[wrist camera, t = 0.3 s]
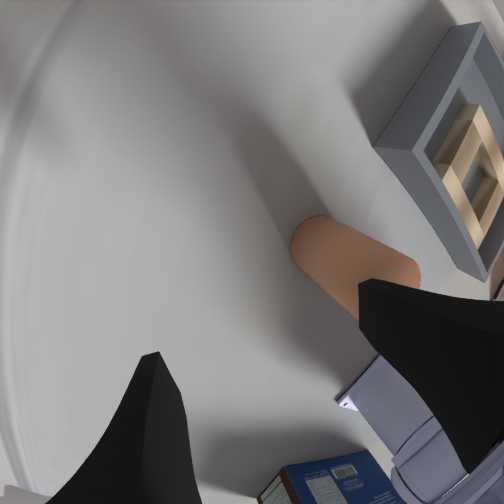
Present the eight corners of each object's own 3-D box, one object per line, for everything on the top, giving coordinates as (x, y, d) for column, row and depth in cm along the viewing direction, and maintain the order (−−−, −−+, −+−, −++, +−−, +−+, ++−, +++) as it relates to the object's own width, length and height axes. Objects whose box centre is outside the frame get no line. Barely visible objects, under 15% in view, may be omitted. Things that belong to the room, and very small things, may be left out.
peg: (351, 236, 21) (430, 280, 14) (318, 281, 21) (385, 341, 14) (315, 204, 19) (397, 239, 12) (278, 252, 20) (343, 313, 13)
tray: (513, 152, 25) (537, 157, 21) (457, 268, 27) (484, 283, 23) (450, 26, 17) (481, 21, 14) (372, 147, 19) (411, 150, 16)
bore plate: (496, 176, 24) (510, 179, 22) (459, 249, 25) (474, 255, 23) (463, 103, 19) (479, 104, 18) (419, 182, 20) (437, 187, 19)
